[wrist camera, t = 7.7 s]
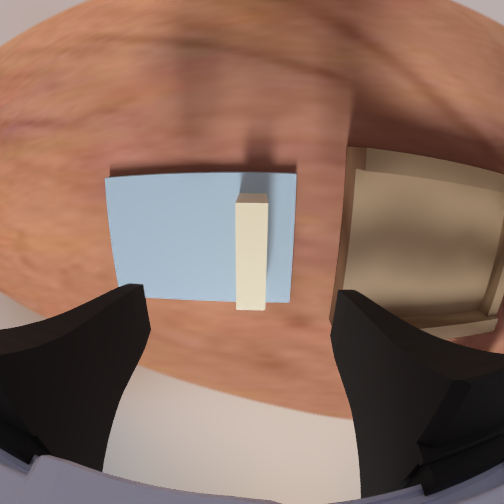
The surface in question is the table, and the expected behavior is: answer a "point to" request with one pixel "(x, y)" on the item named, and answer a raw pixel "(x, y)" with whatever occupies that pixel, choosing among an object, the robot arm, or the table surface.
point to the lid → (204, 235)
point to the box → (423, 240)
